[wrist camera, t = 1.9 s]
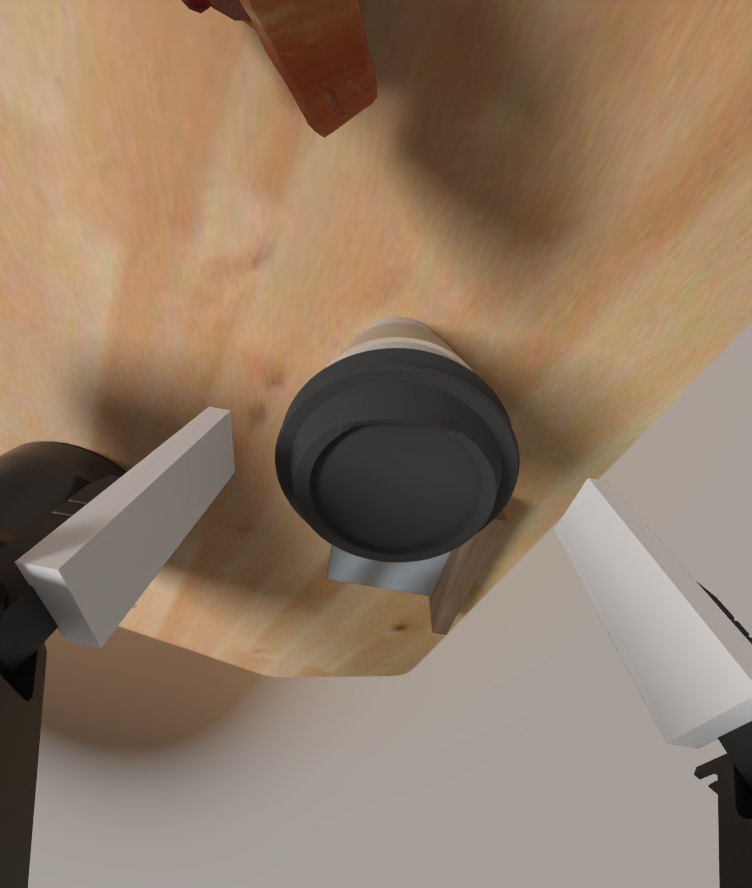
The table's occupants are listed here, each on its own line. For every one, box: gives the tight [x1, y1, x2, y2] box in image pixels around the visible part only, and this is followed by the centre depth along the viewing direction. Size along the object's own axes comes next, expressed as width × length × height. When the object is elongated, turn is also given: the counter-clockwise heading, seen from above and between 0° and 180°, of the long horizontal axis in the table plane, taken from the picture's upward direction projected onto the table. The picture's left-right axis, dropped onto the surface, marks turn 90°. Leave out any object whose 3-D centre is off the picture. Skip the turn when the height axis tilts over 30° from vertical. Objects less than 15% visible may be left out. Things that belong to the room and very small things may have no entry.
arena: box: [327, 510, 507, 635], centre depth 31 cm, size 15×17×4 cm
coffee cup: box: [275, 317, 519, 563], centre depth 17 cm, size 9×9×15 cm
